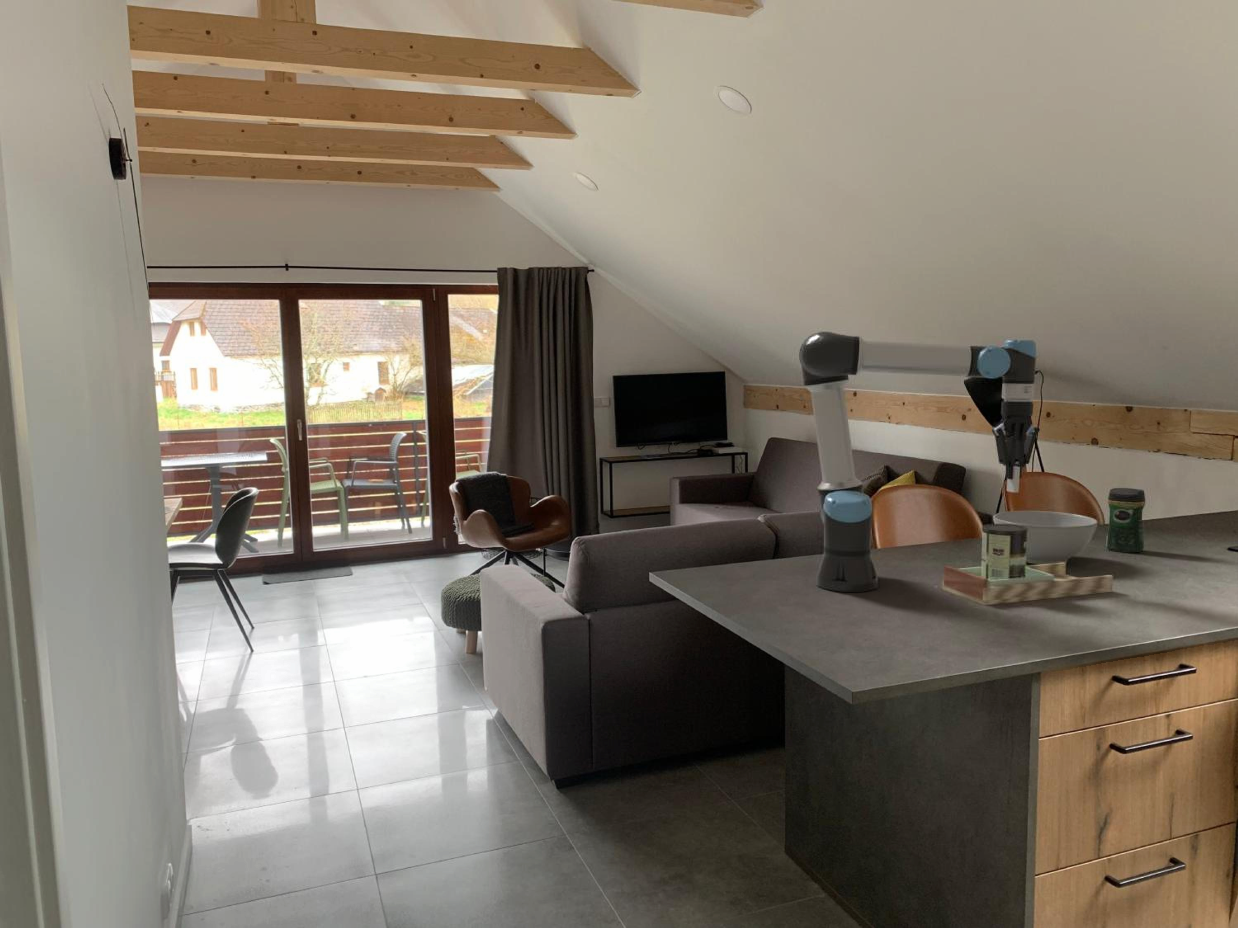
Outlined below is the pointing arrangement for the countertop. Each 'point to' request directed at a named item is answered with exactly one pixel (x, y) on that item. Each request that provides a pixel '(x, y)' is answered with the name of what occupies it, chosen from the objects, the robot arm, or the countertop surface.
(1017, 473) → the robot arm
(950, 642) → the countertop surface
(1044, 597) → the bay
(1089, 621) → the countertop surface
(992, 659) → the countertop surface
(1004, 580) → the mint green tray
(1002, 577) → the coffee can
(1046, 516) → the decorative bowl
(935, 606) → the countertop surface
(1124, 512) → the coffee jar
